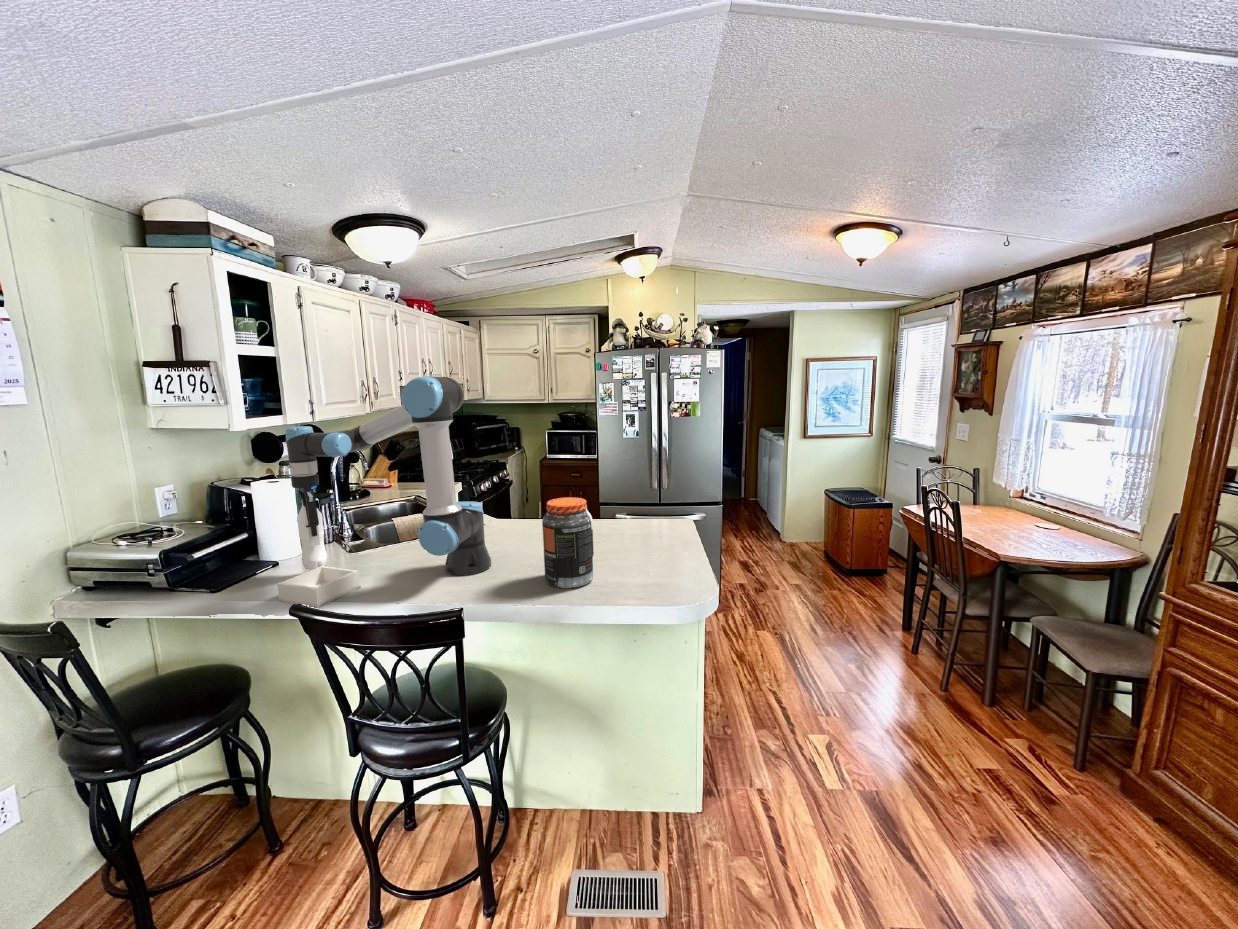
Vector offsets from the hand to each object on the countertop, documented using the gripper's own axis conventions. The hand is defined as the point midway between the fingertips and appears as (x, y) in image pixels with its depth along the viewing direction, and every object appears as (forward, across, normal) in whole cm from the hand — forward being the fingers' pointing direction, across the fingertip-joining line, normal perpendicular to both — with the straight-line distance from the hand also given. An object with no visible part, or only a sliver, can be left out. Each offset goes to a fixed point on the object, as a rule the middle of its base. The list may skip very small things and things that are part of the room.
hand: (312, 542), depth 165 cm
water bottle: (+9, 0, 0) cm, 9 cm away
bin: (+11, +18, -2) cm, 22 cm away
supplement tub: (+12, +61, +60) cm, 86 cm away
